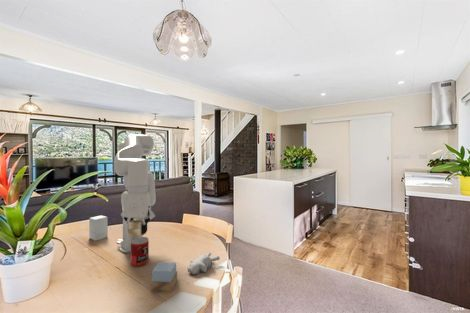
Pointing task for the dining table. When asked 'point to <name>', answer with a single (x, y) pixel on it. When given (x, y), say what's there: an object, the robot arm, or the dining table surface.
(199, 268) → the white figure shaped piece
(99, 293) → the dining table surface
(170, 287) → the tower base block
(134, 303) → the dining table surface
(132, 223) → the maple block
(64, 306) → the dining table surface
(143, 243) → the canned food
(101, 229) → the supplement box
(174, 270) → the tower top block
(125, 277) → the dining table surface
